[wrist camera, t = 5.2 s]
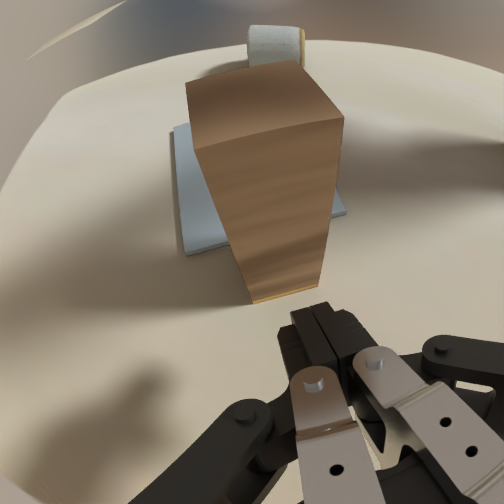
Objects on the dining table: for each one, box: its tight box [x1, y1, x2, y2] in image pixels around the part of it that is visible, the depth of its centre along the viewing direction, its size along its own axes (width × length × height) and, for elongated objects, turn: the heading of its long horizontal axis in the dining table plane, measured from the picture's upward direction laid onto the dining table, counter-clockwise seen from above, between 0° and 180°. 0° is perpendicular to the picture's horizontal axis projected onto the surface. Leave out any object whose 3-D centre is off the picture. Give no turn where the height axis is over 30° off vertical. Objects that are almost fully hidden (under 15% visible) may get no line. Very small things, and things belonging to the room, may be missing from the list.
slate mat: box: [173, 122, 347, 256], centre depth 28 cm, size 18×14×1 cm
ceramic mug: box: [247, 25, 305, 68], centre depth 36 cm, size 11×8×8 cm
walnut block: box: [185, 60, 344, 304], centre depth 16 cm, size 5×5×15 cm
